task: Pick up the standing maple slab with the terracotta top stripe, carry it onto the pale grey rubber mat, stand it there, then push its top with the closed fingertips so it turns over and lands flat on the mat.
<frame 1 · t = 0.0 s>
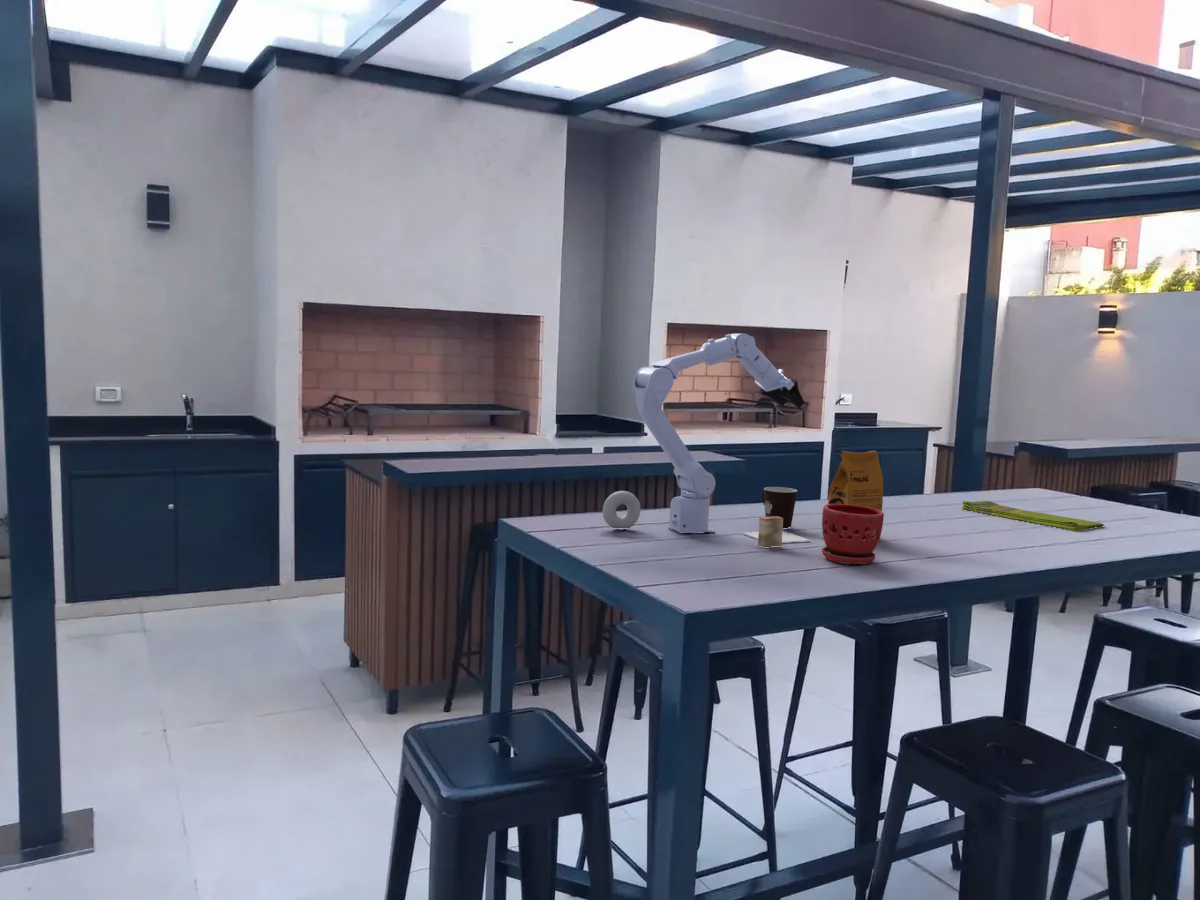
hand: (793, 404, 240), 32 cm above the table, tool tilted 50°, fingers open, 7 cm apart
mat: (775, 538, 228), on the table
dish towel: (1029, 520, 268), on the table
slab: (769, 546, 218), on the table
coffee mug: (777, 526, 243), on the table
donut: (620, 530, 231), on the table
coffee package: (852, 538, 232), on the table
plant pot: (849, 561, 206), on the table
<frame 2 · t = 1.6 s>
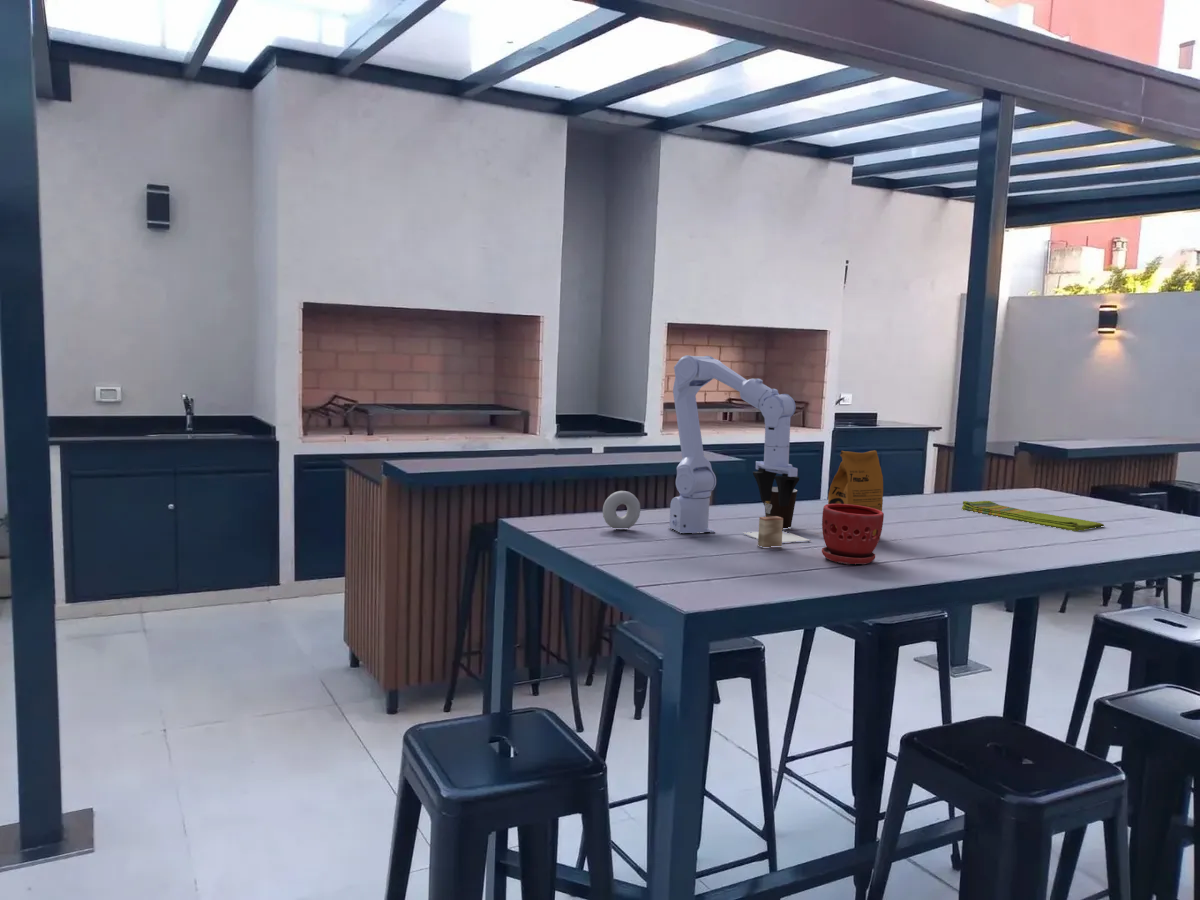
hand: (774, 503, 217), 10 cm above the table, tool pointing down, fingers open, 7 cm apart
nothing on the table moved.
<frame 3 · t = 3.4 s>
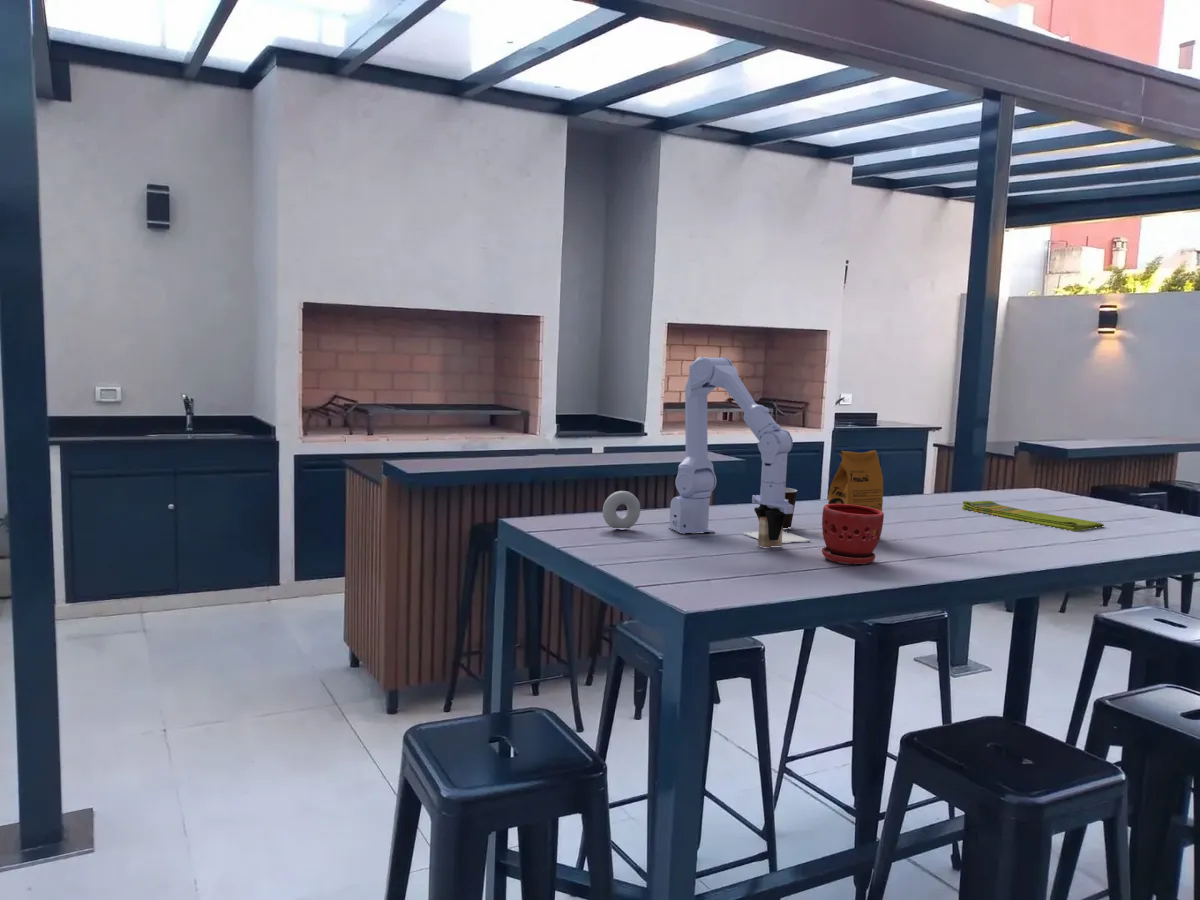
hand: (770, 538, 217), 2 cm above the table, tool pointing down, fingers closed on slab, 2 cm apart
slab: (769, 546, 218), on the table, touching gripper
everything else where it was.
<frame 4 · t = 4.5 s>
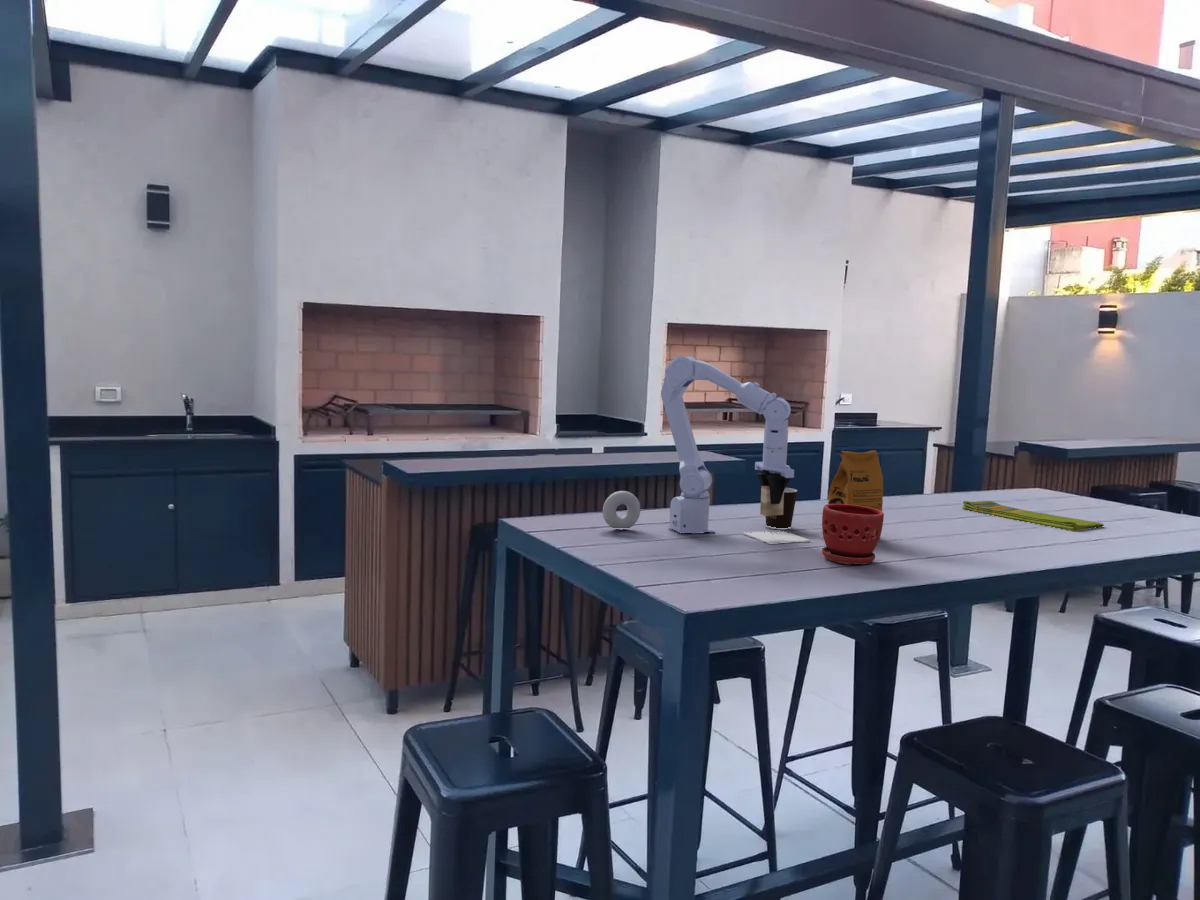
hand: (772, 502, 226), 9 cm above the table, tool pointing down, fingers closed on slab, 2 cm apart
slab: (771, 514, 226), point 6 cm above the table, touching gripper
everything else where it was.
when the fingers open (3 cm above the table, at t = 6.0 s): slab stays where it is, resting on mat.
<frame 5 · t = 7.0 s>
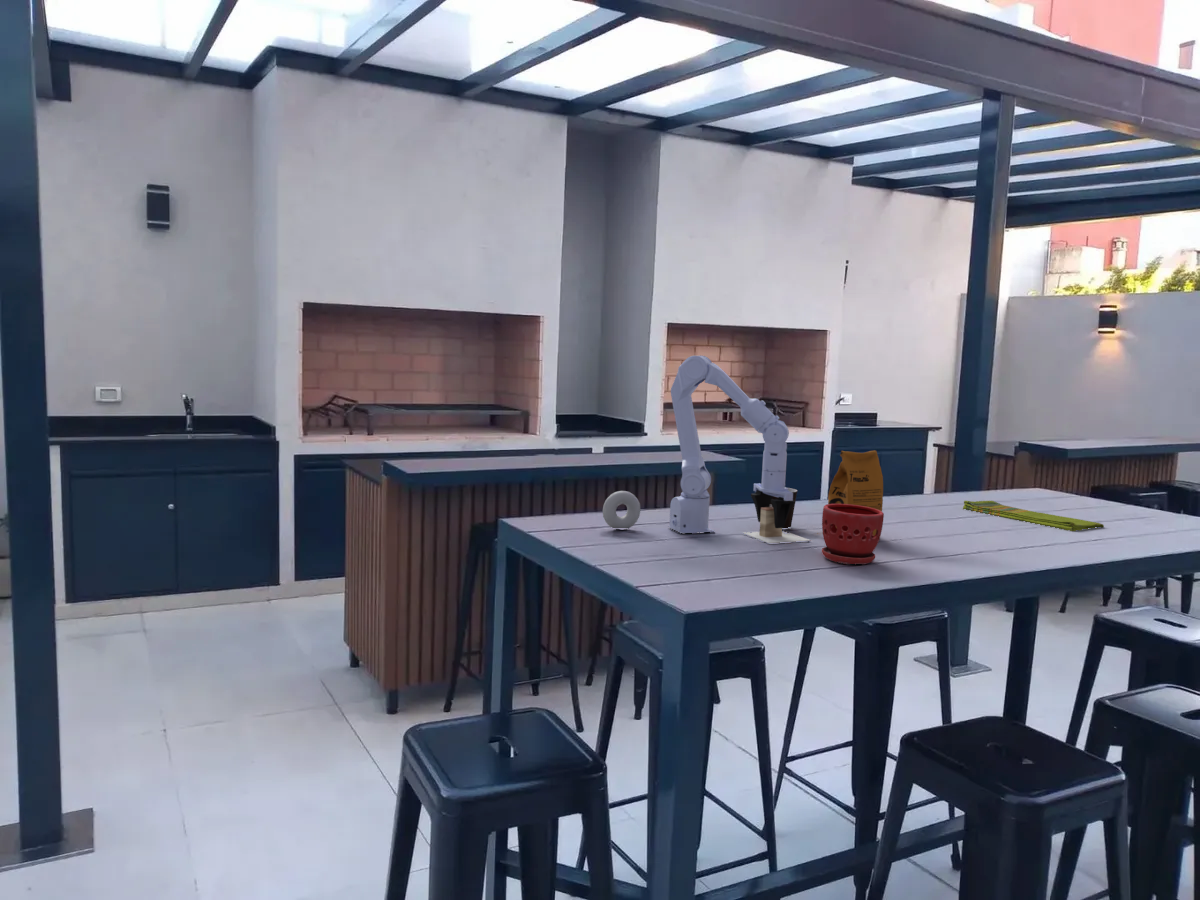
hand: (770, 524, 228), 3 cm above the table, tool pointing down, fingers open, 7 cm apart
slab: (770, 535, 228), resting on mat
everything else where it was.
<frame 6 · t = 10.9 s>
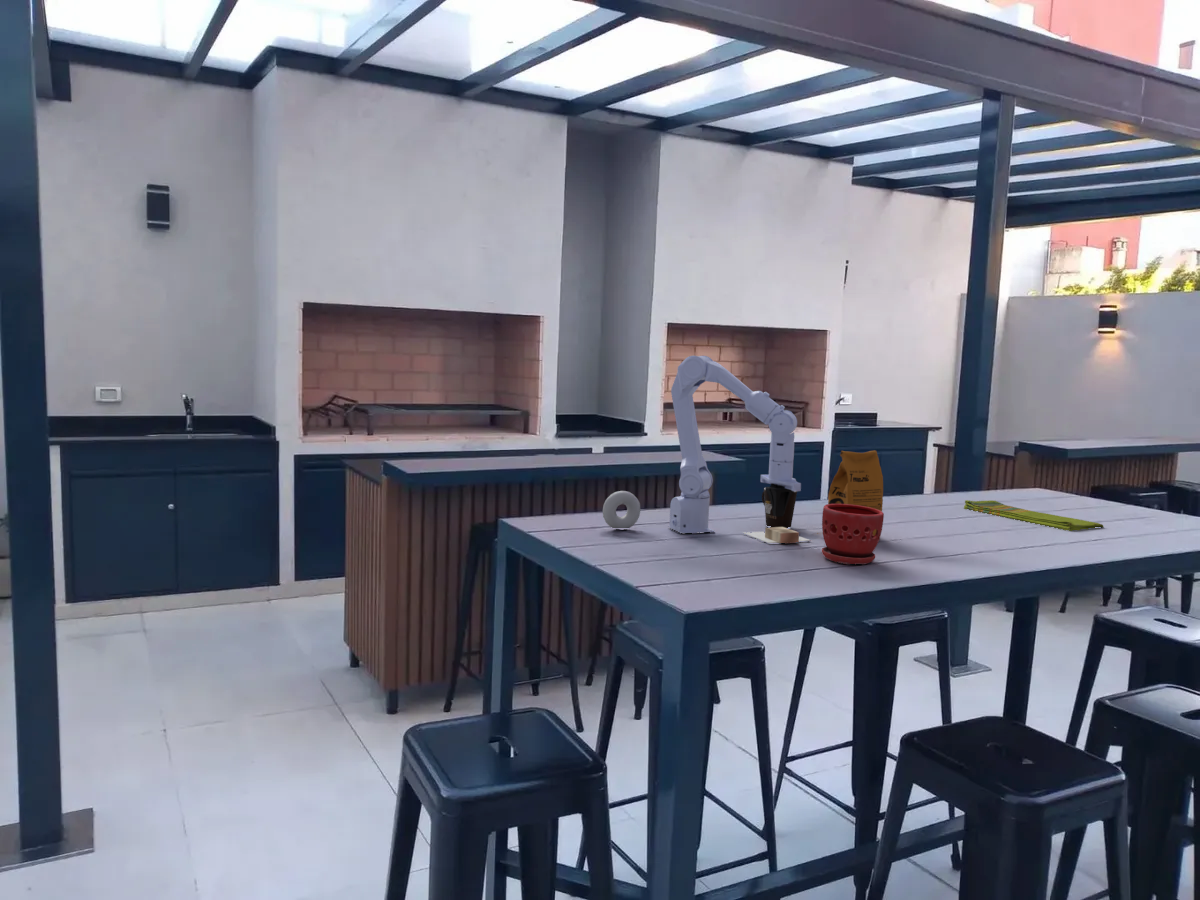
hand: (778, 516, 225), 6 cm above the table, tool pointing down, fingers closed
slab: (773, 532, 227), point 2 cm above the table, tilted 90°, touching mat
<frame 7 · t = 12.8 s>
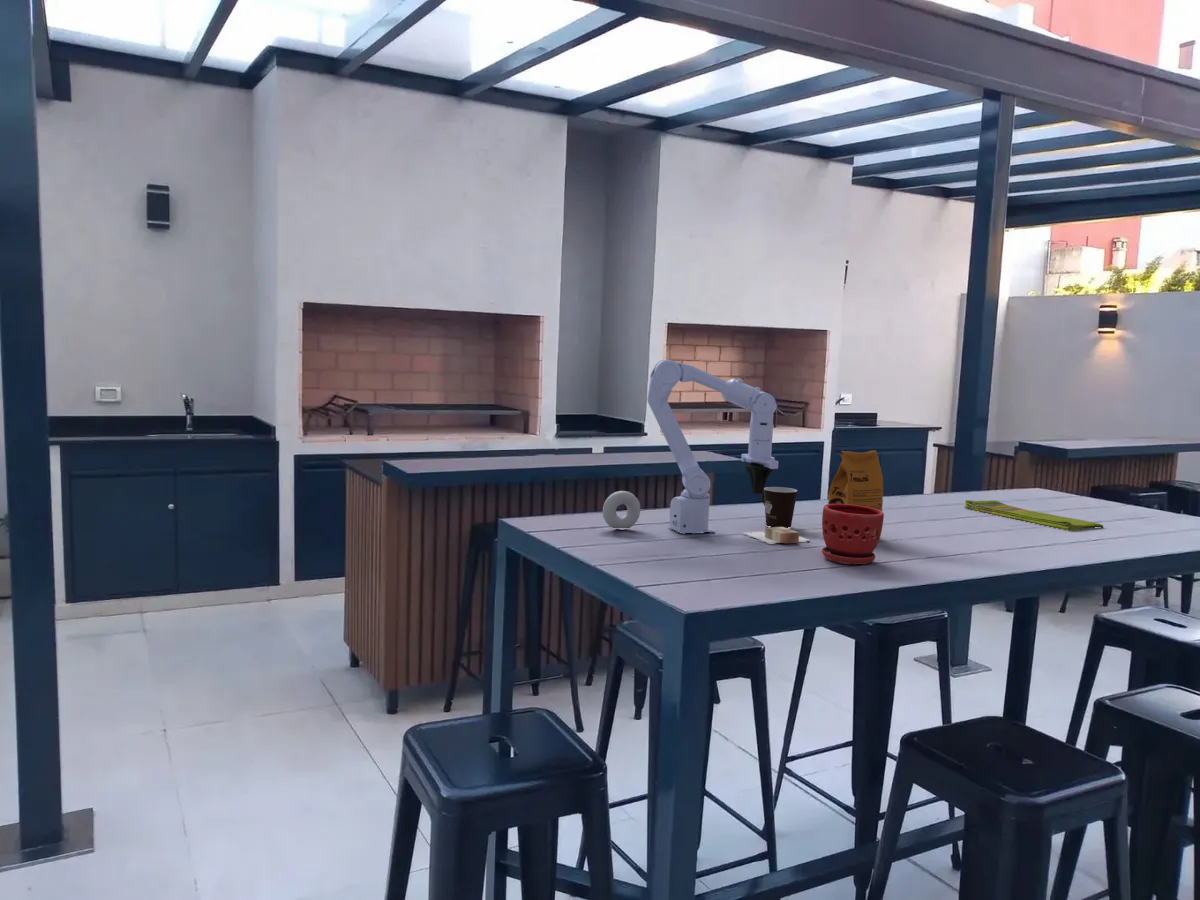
hand: (757, 493, 232), 10 cm above the table, tool pointing down, fingers closed
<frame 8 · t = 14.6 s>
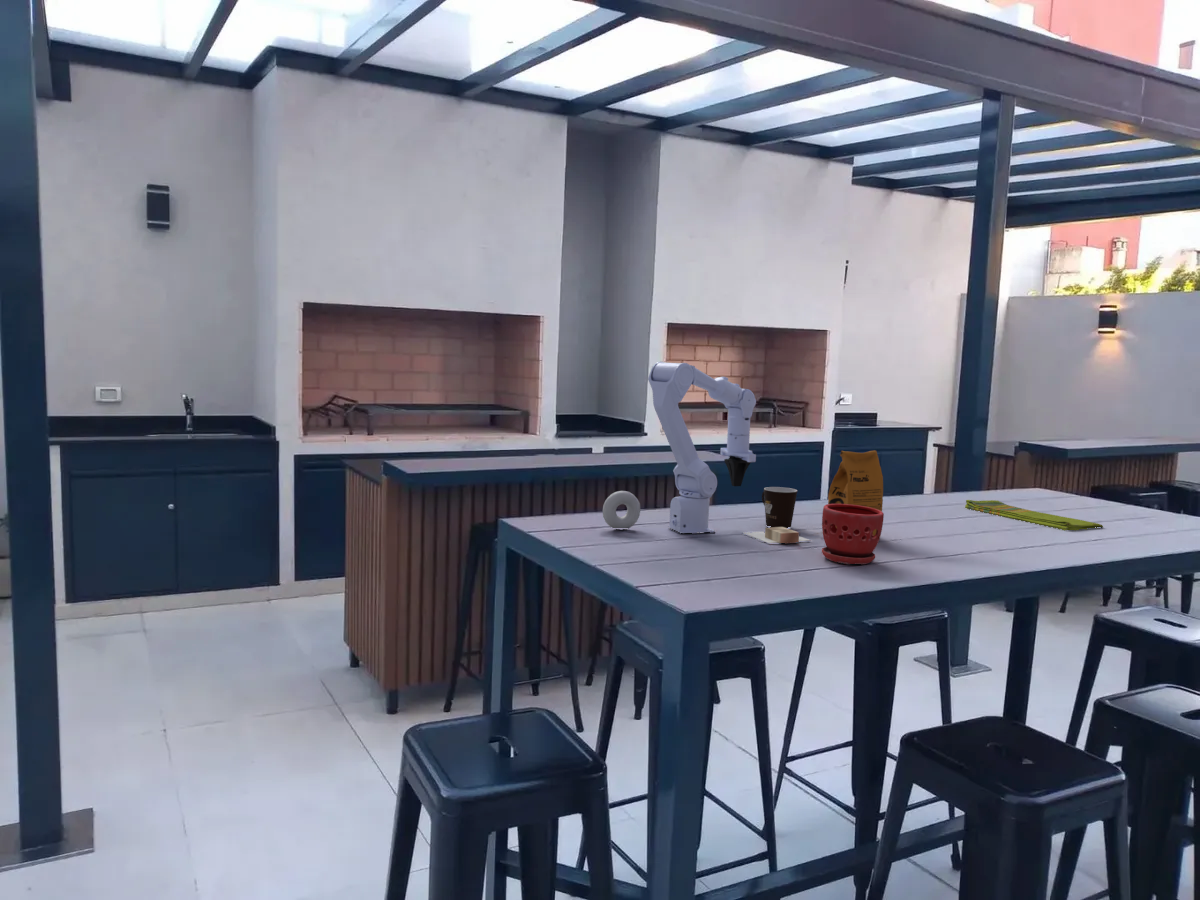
hand: (736, 485, 241), 10 cm above the table, tool pointing down, fingers closed
at the end: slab tilted 90°; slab inside the target area on the mat (0.9 cm from its centre), point 1.6 cm above the mat's base; the gripper is holding nothing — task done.
